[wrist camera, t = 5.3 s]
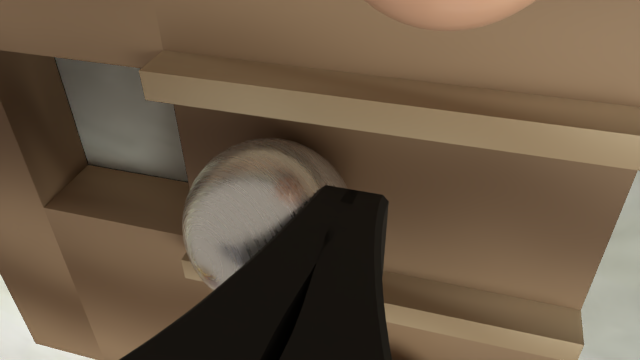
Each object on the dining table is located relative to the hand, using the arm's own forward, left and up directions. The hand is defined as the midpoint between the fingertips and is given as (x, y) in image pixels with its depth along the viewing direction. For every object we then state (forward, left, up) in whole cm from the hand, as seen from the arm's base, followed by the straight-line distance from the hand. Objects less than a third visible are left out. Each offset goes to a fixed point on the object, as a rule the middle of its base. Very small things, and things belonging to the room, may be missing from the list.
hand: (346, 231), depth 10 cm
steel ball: (0, +2, 0) cm, 2 cm away
